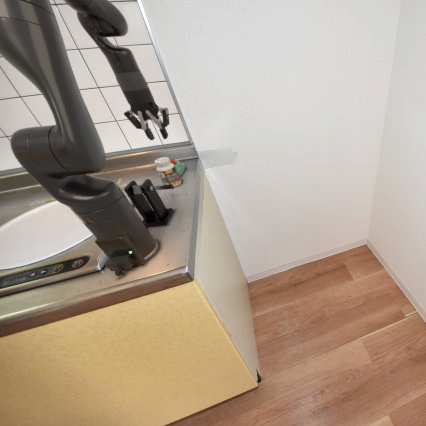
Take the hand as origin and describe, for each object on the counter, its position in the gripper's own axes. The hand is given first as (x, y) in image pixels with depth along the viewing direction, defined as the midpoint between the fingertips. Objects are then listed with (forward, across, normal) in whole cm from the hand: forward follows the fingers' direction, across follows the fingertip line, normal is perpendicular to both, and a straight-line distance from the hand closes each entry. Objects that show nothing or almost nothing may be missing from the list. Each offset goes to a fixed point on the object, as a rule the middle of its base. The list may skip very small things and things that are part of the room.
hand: (159, 138), depth 87 cm
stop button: (+11, 0, 0) cm, 11 cm away
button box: (+14, 0, 0) cm, 14 cm away
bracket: (+14, +4, -30) cm, 33 cm away
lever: (+7, +4, -25) cm, 27 cm away
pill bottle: (+14, +2, -9) cm, 17 cm away
